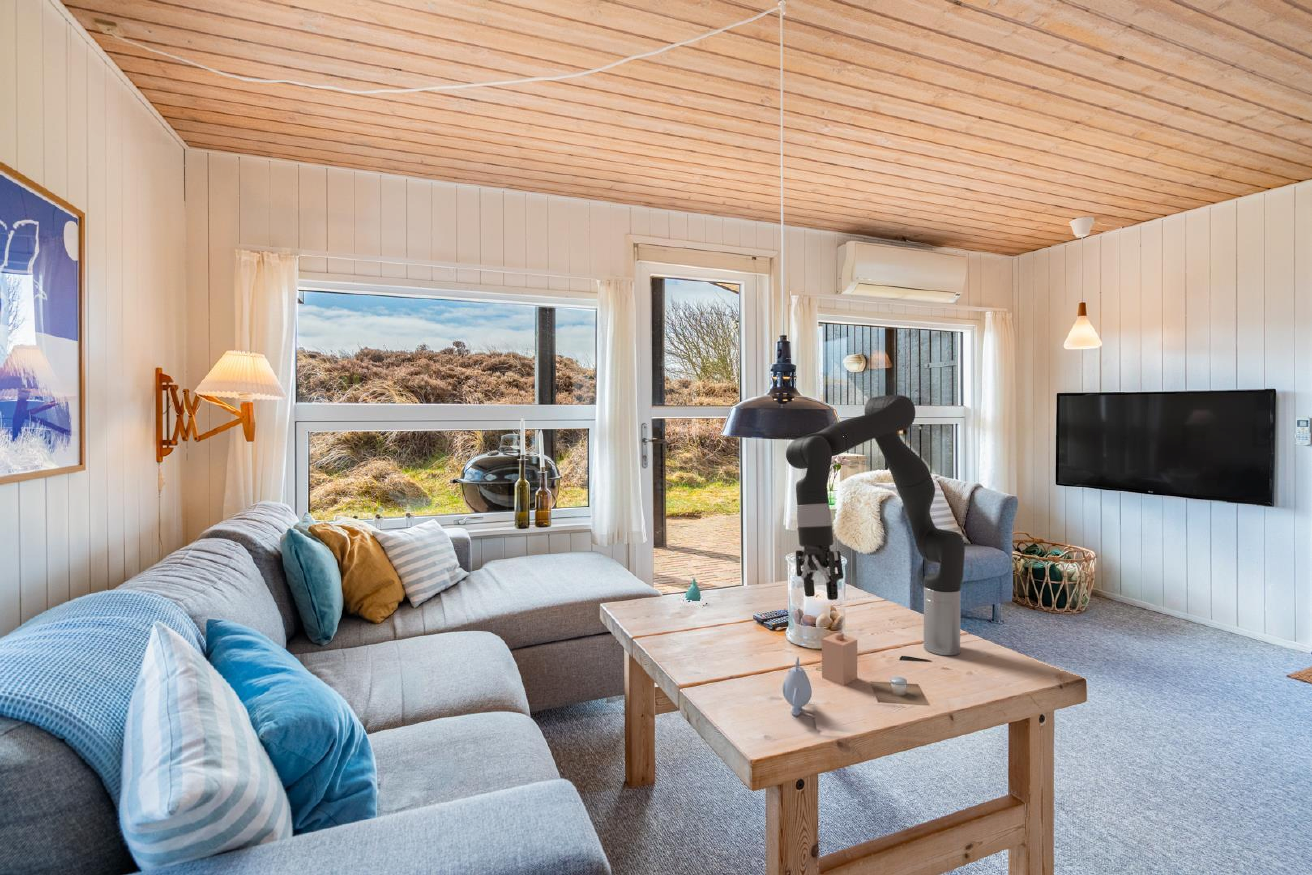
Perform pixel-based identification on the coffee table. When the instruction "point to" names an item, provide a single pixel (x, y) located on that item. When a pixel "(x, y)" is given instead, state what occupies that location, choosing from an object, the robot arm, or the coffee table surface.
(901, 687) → the ramekin
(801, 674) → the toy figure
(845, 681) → the cover
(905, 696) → the board
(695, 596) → the green christmas tree
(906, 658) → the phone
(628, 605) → the coffee table surface
